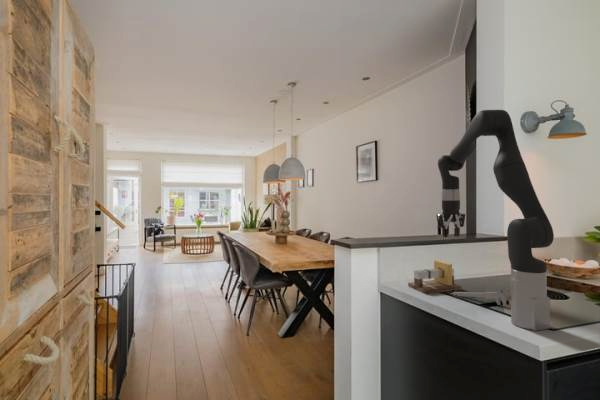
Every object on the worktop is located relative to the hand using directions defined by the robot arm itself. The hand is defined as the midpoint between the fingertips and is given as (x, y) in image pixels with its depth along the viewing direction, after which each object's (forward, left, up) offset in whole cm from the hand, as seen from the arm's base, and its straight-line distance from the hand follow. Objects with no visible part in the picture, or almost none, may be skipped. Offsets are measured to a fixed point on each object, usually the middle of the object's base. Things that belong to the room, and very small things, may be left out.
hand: (451, 236), depth 151 cm
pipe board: (-3, +11, -21) cm, 25 cm away
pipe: (-3, +11, -17) cm, 20 cm away
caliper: (-22, +7, -22) cm, 32 cm away
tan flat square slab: (-3, +7, -20) cm, 21 cm away
